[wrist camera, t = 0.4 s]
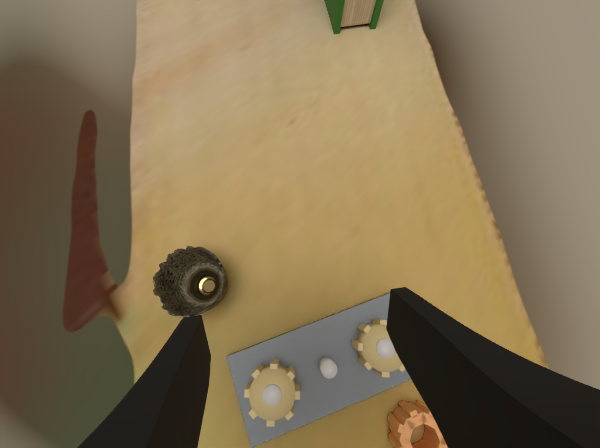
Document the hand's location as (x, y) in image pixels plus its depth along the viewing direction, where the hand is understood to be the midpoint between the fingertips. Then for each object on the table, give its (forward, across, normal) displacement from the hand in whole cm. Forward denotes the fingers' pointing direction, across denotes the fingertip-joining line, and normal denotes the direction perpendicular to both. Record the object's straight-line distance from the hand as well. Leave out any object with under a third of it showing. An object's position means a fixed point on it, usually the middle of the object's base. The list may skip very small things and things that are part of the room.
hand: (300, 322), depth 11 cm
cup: (+25, +9, +15) cm, 30 cm away
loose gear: (+10, -14, +29) cm, 34 cm away
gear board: (+16, -5, +23) cm, 29 cm away
